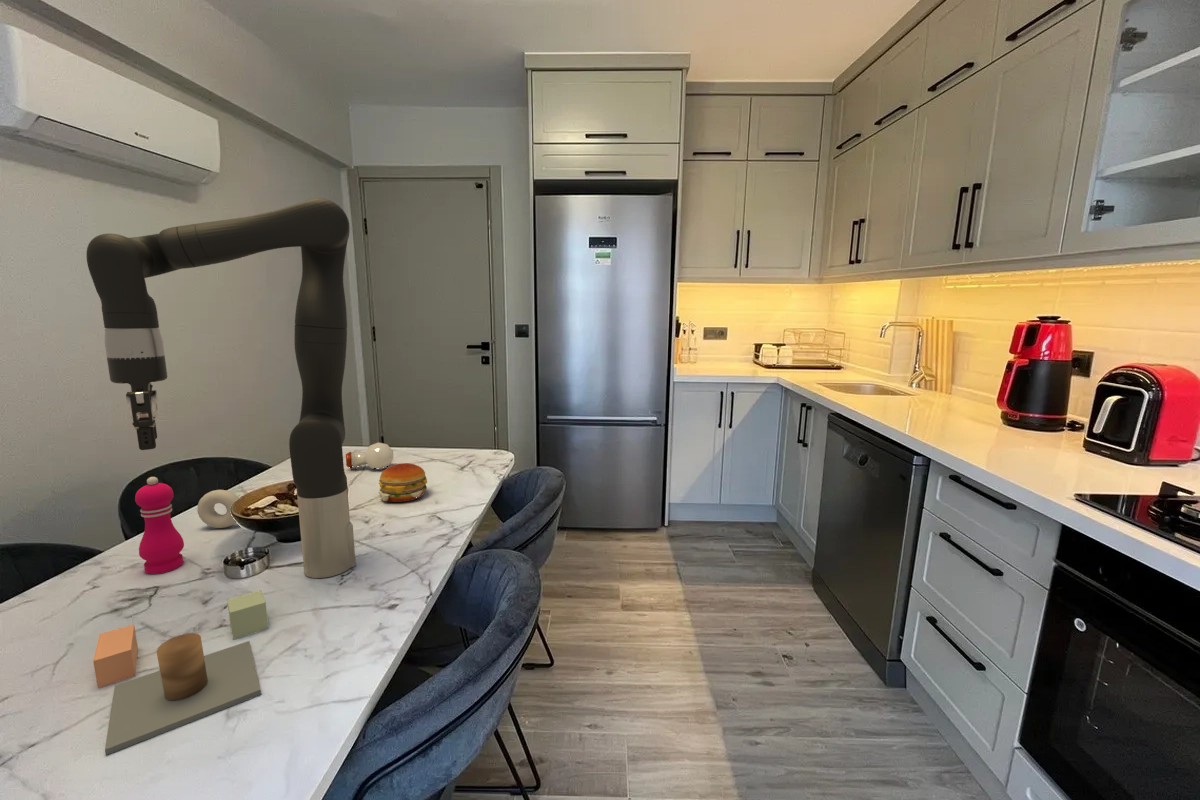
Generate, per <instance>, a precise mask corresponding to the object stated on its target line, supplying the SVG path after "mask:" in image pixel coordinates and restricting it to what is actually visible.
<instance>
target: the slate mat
mask: <svg viewBox="0 0 1200 800" xmlns="http://www.w3.org/2000/svg"><path fill="white" fill-rule="evenodd" d="M253 655H254V654H253V651H252V645H251V642H250V640H247V641H244V642H241V643H239V644H234V645H233V646H229V647H227V648H224V649H220V650H217V651H214V652H211V653H208V654H204V660H205V666H206V672H207V678H208V682H207V684H206V686H205V687H204V688H203V689H202V690H200V691H199V692H197V693H196V694H194V695H192V696H190V697H188V698H185V699H181V700H177V701H169V700H166V699H165V696H164V690H163V685H162V679H161V674H160V670H157V671H153V672H151V673H147V674H145V675H143V676H139V677H137V678H133V679H130V680H126V681H124V682H121V683H119V684H115V685H114V687H113V694H112V702H111V707H110V713H109V719H108V720H109V722H108V726H107V734H106V739H105V740H106V741H105V746H104V747H105V748H104V752H105V756H108V755H110V754H113V753H115V752H118V751H121V750H123V749H126V748H128V747H131V746H133V745H136V744H139V743H140V742H143V741H146V740H148V739H151V738H154V737H156V736H159V735H162V734H163V733H167V732H169V731H172V730H174V729H176V728H179V727H182V726H184V725H187V724H190V723H192V722H195V721H197V720H200V719H203V718H205V717H207V716H210V715H212V714H215V713H218V712H220V711H223V710H225V709H227V708H230V707H233V706H235V705H238V704H240V703H243V702H246V701H249V700H250V699H253V698H256V697H259V696H261V695H262V690H261V684H260V680H259V676H258V671H257V669H256V663H255V658H254V656H253Z"/></svg>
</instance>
